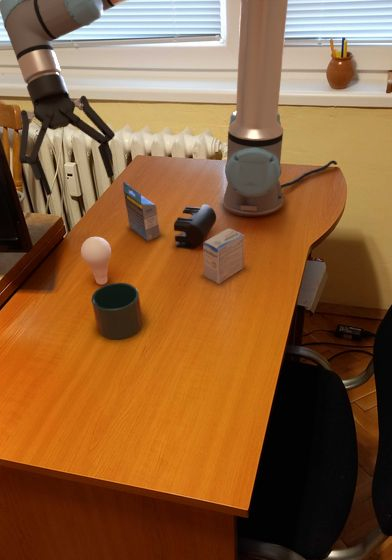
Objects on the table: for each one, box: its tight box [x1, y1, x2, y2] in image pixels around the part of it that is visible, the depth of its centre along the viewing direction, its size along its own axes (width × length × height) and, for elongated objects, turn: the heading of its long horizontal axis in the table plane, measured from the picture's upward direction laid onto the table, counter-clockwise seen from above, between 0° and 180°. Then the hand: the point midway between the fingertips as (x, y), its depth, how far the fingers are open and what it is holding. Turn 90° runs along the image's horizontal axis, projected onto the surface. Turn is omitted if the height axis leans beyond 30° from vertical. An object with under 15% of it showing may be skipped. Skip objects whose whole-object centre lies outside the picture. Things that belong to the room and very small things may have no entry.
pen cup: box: [91, 282, 144, 341], centre depth 105 cm, size 9×9×7 cm
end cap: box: [173, 203, 217, 250], centre depth 128 cm, size 10×7×7 cm
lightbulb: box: [80, 236, 112, 286], centre depth 115 cm, size 6×6×11 cm
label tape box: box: [122, 180, 161, 242], centre depth 130 cm, size 9×4×12 cm, turn 34°
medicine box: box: [202, 227, 245, 285], centre depth 116 cm, size 8×4×9 cm, turn 134°
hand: (80, 185), depth 116 cm, fingers open, 13 cm apart
